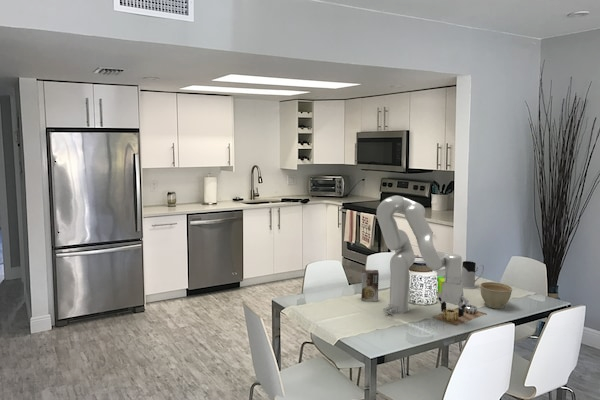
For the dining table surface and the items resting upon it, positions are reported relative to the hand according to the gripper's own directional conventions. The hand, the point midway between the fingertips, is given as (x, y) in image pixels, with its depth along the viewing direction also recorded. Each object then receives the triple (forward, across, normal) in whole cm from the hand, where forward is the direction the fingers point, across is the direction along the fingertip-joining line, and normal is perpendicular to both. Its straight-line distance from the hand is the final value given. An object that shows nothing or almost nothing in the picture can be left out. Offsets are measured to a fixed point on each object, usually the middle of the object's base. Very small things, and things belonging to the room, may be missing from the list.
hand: (452, 313), depth 249 cm
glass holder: (+4, -27, +61) cm, 66 cm away
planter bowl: (+5, 0, +40) cm, 40 cm away
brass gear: (+3, -1, 0) cm, 3 cm away
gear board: (+4, -1, +8) cm, 9 cm away
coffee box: (+3, -48, -7) cm, 49 cm away
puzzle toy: (+4, -25, +33) cm, 41 cm away
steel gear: (+3, -1, +17) cm, 17 cm away
